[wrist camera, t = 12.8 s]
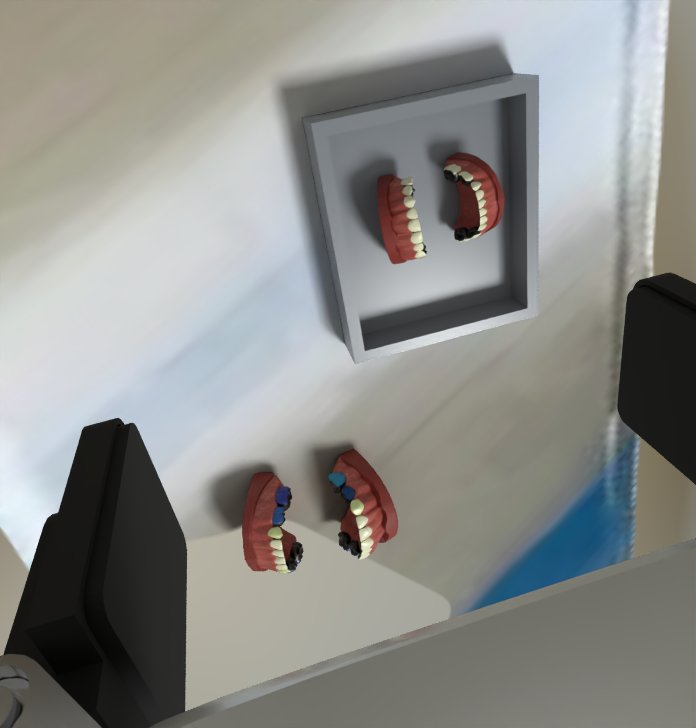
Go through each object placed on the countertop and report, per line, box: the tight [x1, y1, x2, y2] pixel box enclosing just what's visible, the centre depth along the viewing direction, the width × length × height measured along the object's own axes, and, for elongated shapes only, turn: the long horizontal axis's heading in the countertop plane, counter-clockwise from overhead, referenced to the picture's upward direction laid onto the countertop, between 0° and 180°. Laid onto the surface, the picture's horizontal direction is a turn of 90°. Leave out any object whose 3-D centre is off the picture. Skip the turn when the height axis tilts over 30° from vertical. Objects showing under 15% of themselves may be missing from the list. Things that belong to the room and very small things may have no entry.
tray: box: [302, 73, 539, 364], centre depth 38 cm, size 16×14×3 cm
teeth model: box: [242, 449, 398, 573], centre depth 46 cm, size 8×6×12 cm
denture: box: [377, 152, 505, 264], centre depth 36 cm, size 6×4×8 cm
